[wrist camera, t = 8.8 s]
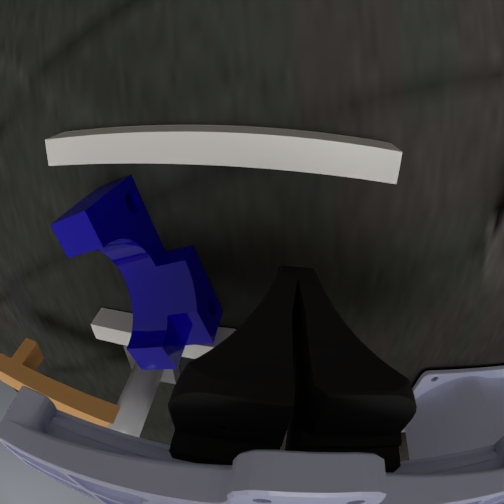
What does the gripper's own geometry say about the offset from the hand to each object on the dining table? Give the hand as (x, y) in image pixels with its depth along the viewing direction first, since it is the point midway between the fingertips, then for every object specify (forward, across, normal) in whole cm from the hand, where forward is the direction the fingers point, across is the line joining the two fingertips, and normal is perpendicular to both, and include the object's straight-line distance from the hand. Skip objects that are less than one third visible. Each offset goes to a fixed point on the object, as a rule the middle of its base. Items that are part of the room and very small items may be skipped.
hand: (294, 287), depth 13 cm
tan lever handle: (+1, +12, +8) cm, 14 cm away
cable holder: (+2, +6, 0) cm, 7 cm away
